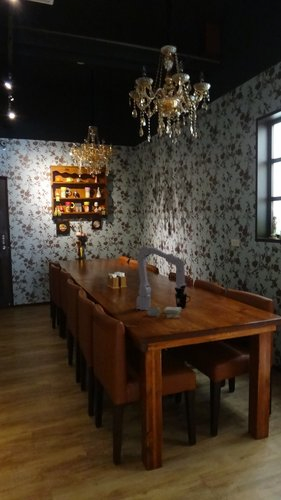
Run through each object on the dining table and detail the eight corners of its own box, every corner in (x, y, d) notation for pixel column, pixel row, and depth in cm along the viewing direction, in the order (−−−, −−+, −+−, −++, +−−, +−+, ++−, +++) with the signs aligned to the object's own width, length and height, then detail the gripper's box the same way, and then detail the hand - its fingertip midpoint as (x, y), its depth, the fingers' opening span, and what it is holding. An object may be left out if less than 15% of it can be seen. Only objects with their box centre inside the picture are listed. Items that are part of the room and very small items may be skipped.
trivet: (166, 318, 207) (166, 317, 207) (166, 315, 215) (166, 314, 215) (179, 318, 207) (179, 317, 207) (178, 315, 215) (178, 313, 215)
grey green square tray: (163, 312, 221) (163, 309, 221) (167, 309, 231) (167, 306, 231) (178, 313, 218) (178, 310, 218) (181, 310, 228) (181, 307, 228)
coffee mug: (172, 306, 239) (172, 292, 239) (183, 305, 242) (183, 291, 242) (180, 309, 229) (180, 295, 228) (191, 308, 232) (191, 294, 231)
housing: (147, 315, 215) (147, 307, 215) (149, 314, 219) (149, 306, 219) (157, 316, 213) (157, 308, 213) (159, 314, 217) (159, 307, 217)
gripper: (184, 278, 214) (184, 299, 215) (188, 275, 228) (188, 295, 229) (173, 278, 216) (173, 299, 217) (177, 275, 230) (178, 294, 231)
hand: (180, 297), depth 223 cm, fingers open, 7 cm apart
